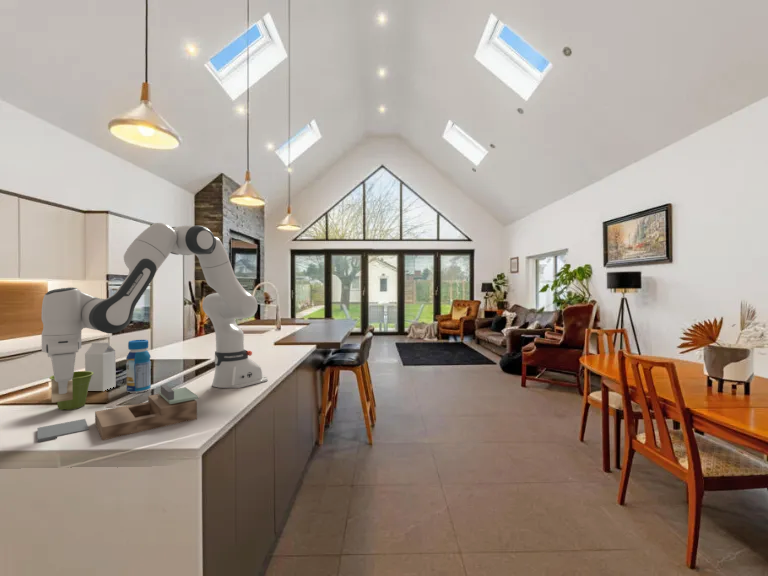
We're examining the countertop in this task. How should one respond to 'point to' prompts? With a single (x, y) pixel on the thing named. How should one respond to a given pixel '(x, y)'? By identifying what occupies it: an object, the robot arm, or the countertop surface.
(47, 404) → the countertop surface
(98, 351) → the milk carton
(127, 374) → the beverage bottle
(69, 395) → the maple block
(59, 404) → the plant pot
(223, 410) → the countertop surface
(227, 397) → the countertop surface
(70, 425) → the rubber pad
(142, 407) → the puzzle board
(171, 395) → the sliding lid
